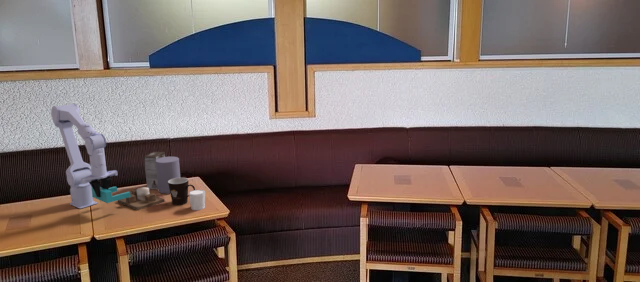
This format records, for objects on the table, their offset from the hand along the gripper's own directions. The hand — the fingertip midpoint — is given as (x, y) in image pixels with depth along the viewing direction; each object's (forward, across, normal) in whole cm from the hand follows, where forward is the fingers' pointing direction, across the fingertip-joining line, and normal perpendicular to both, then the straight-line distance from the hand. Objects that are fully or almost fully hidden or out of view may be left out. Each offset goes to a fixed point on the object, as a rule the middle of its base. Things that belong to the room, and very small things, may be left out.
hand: (102, 195), depth 216 cm
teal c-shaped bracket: (+2, +4, 0) cm, 4 cm away
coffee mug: (+8, +27, -16) cm, 32 cm away
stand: (+8, +17, 0) cm, 19 cm away
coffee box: (+8, +34, +13) cm, 37 cm away
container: (+8, +34, +3) cm, 35 cm away
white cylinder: (+8, +28, -26) cm, 39 cm away
